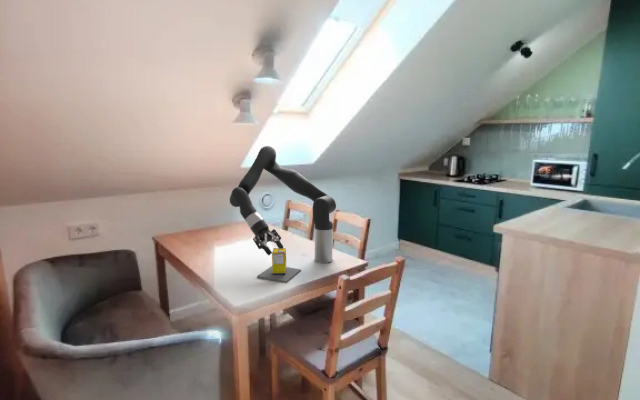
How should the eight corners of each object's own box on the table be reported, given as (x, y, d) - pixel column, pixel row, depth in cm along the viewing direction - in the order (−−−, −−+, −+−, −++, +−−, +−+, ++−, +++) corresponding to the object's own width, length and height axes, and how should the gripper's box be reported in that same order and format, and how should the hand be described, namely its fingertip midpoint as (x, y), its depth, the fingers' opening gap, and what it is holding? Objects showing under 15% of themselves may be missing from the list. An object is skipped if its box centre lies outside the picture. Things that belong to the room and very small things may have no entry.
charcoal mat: (273, 266, 181) (273, 264, 181) (301, 270, 176) (301, 269, 176) (257, 277, 168) (257, 276, 168) (286, 283, 162) (286, 281, 162)
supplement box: (286, 269, 175) (286, 247, 173) (285, 275, 169) (285, 252, 167) (273, 269, 175) (273, 247, 173) (272, 274, 169) (271, 252, 167)
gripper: (262, 225, 182) (281, 251, 178) (242, 232, 170) (261, 260, 167) (270, 216, 178) (290, 242, 174) (250, 222, 166) (270, 251, 163)
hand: (276, 251), depth 170 cm, fingers open, 8 cm apart
